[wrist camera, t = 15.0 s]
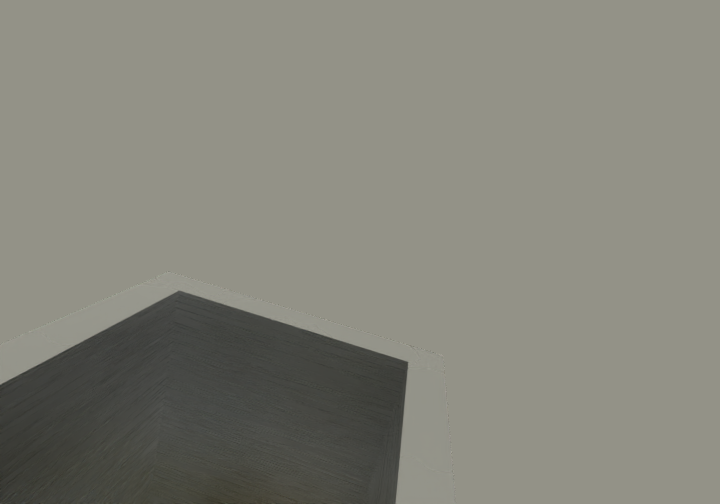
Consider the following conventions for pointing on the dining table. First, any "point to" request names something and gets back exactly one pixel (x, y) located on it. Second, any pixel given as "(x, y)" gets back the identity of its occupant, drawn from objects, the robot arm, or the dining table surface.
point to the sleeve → (218, 406)
